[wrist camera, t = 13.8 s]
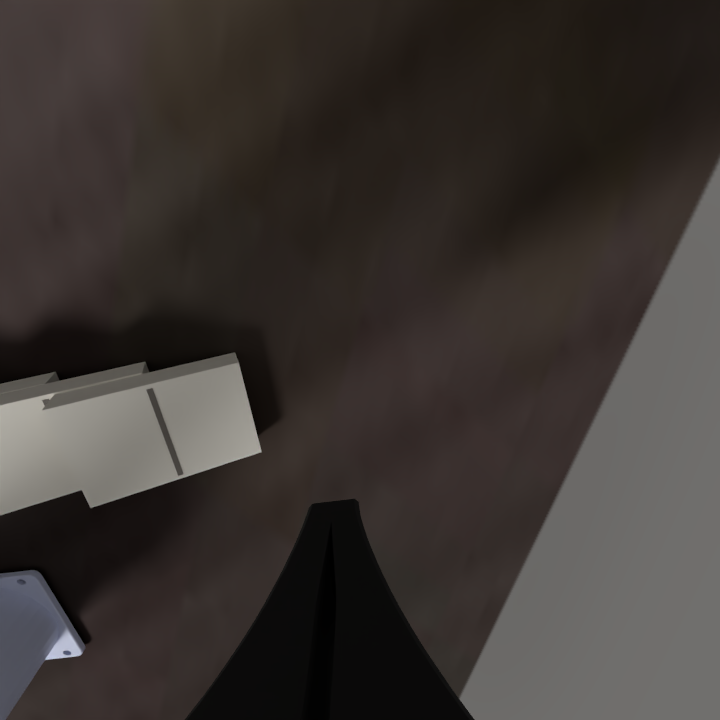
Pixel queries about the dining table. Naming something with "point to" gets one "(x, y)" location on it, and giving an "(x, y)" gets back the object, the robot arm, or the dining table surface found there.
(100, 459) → the domino
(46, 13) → the dining table surface
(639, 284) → the dining table surface
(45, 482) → the domino
